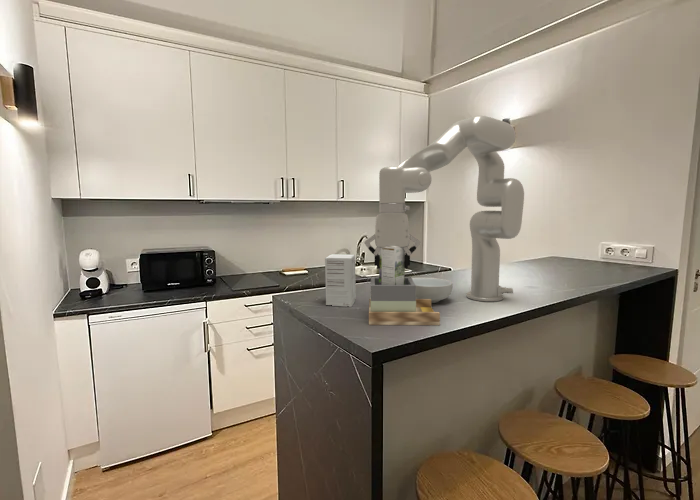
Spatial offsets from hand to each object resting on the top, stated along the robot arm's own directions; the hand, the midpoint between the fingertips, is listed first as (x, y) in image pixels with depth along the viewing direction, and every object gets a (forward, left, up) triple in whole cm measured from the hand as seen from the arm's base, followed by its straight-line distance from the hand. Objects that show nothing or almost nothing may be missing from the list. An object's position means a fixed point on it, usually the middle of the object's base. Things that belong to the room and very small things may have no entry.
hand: (392, 267), depth 110 cm
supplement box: (+17, -16, -15) cm, 28 cm away
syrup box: (0, 0, -8) cm, 8 cm away
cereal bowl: (-14, -20, -15) cm, 29 cm away
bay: (-3, 0, -15) cm, 15 cm away
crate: (0, 0, -14) cm, 14 cm away
